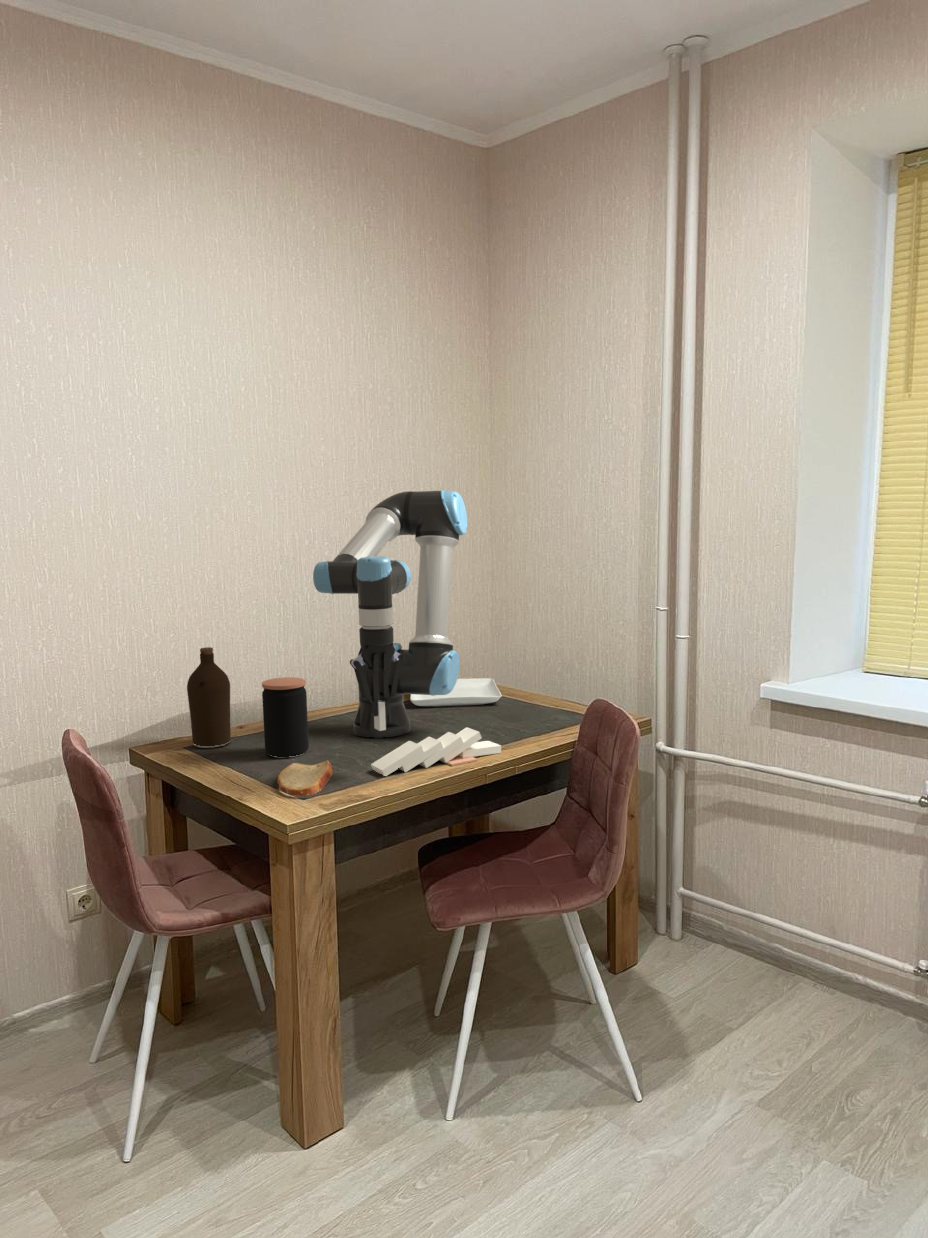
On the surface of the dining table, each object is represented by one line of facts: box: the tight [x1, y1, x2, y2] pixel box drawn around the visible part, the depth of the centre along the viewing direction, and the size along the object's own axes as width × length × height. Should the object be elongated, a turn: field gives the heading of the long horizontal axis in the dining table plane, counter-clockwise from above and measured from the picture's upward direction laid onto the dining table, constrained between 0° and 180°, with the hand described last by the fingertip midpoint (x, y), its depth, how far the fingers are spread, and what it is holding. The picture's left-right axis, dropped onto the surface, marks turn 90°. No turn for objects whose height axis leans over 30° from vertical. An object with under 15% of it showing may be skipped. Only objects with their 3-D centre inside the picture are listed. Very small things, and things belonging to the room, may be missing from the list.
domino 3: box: [418, 731, 463, 769], centre depth 221 cm, size 2×6×11 cm
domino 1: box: [370, 740, 424, 777], centre depth 216 cm, size 2×6×11 cm
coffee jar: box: [261, 676, 310, 757], centre depth 231 cm, size 11×11×18 cm
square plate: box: [409, 677, 503, 708], centre depth 289 cm, size 27×27×4 cm
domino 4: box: [438, 726, 483, 764], centre depth 224 cm, size 2×6×11 cm
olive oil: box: [186, 646, 232, 746], centre depth 240 cm, size 11×11×25 cm
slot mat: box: [438, 756, 478, 767], centre depth 224 cm, size 7×10×1 cm
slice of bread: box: [276, 760, 334, 796], centre depth 208 cm, size 18×18×4 cm
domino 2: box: [398, 736, 443, 773], centre depth 219 cm, size 2×6×11 cm
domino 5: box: [457, 740, 502, 758], centre depth 228 cm, size 2×6×11 cm
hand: (380, 729), depth 213 cm, fingers closed
